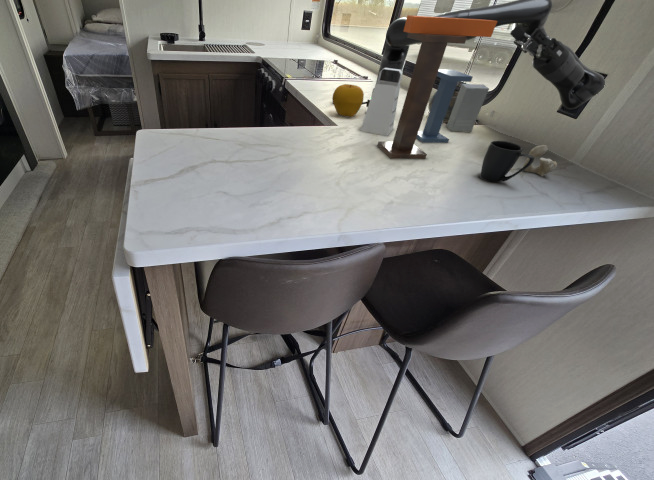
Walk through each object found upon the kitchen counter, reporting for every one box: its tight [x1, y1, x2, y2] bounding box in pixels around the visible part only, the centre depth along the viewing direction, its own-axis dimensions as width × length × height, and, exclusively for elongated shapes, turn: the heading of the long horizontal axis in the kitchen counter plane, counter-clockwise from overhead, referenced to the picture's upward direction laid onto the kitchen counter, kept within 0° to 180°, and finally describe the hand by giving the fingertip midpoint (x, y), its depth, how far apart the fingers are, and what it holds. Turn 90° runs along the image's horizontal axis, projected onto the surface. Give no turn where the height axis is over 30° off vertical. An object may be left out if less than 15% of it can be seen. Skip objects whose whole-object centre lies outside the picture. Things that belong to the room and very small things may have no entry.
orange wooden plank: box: [404, 14, 497, 38], centre depth 93 cm, size 24×4×4 cm, turn 97°
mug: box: [479, 140, 535, 183], centre depth 98 cm, size 8×12×10 cm
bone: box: [522, 144, 558, 178], centre depth 104 cm, size 9×6×10 cm
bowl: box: [427, 90, 459, 121], centre depth 147 cm, size 14×15×10 cm
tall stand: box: [377, 33, 467, 160], centre depth 105 cm, size 12×12×32 cm
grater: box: [359, 68, 403, 137], centre depth 127 cm, size 10×10×20 cm
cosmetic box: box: [446, 83, 490, 133], centre depth 134 cm, size 8×7×16 cm
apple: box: [331, 83, 365, 118], centre depth 143 cm, size 13×13×11 cm
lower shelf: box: [416, 68, 474, 144], centre depth 122 cm, size 10×12×21 cm
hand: (523, 30), depth 96 cm, fingers open, 8 cm apart
